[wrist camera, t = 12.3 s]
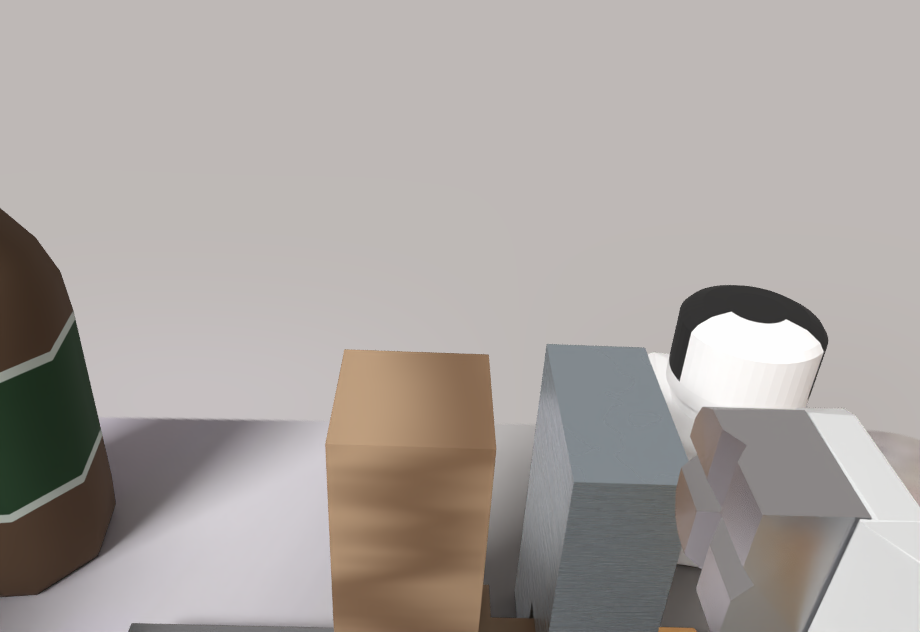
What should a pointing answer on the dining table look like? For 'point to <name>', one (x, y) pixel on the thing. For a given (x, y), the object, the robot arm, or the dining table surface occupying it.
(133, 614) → the dining table surface
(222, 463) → the dining table surface
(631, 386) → the rail and cabinet
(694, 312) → the medicine bottle
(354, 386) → the carriage
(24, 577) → the beer bottle
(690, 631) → the pin
